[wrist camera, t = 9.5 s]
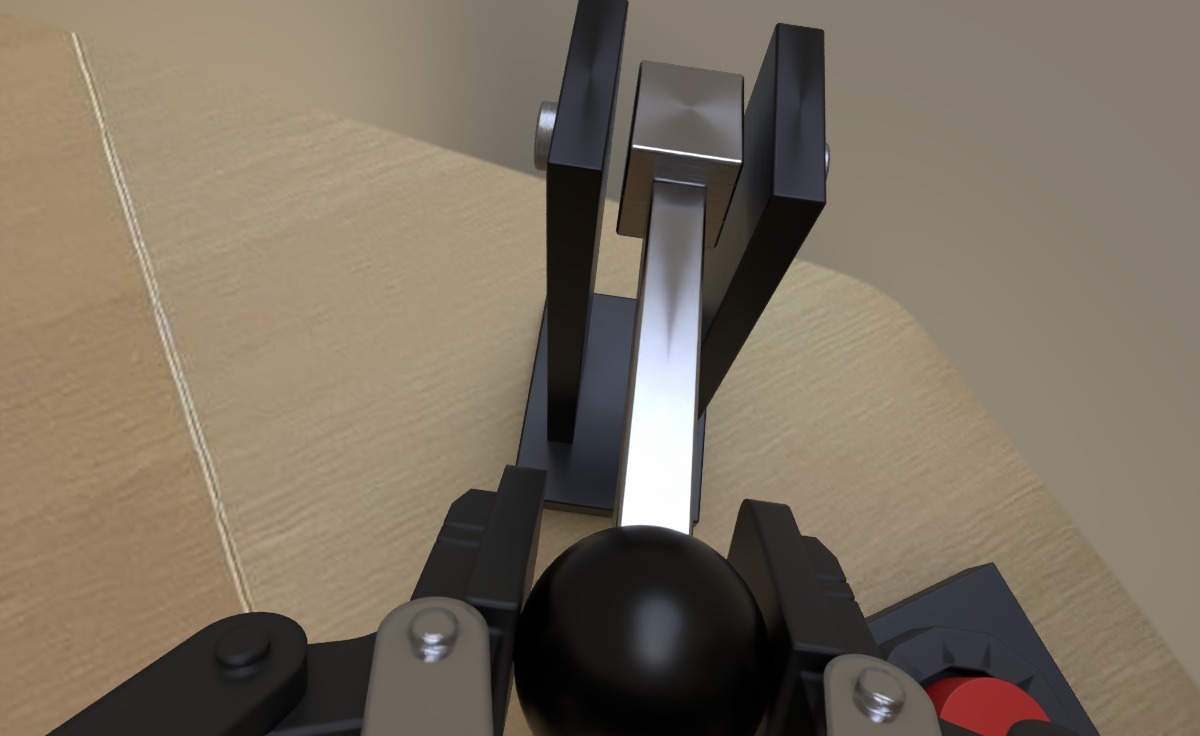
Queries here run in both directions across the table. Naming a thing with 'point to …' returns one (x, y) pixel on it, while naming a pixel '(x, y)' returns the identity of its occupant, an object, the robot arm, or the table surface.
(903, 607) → the control block
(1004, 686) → the button
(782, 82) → the bracket
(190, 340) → the table surface
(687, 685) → the lever
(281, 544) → the table surface
